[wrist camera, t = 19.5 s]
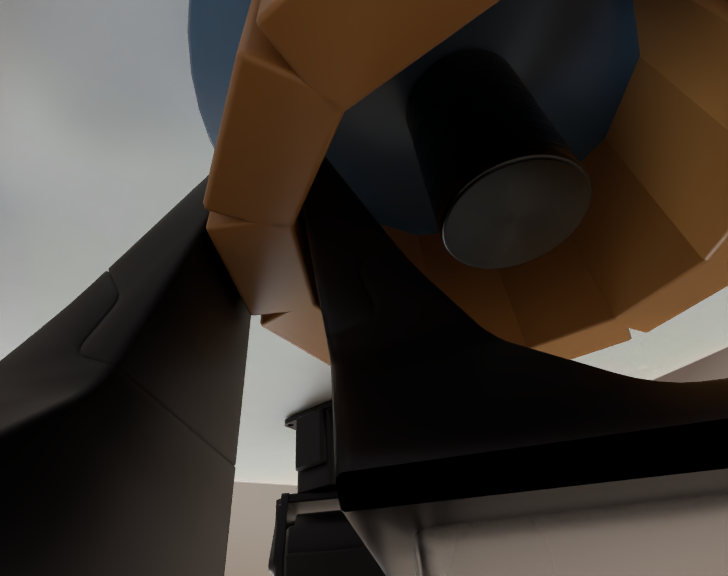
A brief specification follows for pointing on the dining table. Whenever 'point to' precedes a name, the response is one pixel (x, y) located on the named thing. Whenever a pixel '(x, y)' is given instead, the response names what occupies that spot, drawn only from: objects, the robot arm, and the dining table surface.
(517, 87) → the pot lid
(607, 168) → the brown grooved ring
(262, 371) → the dining table surface
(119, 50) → the dining table surface
